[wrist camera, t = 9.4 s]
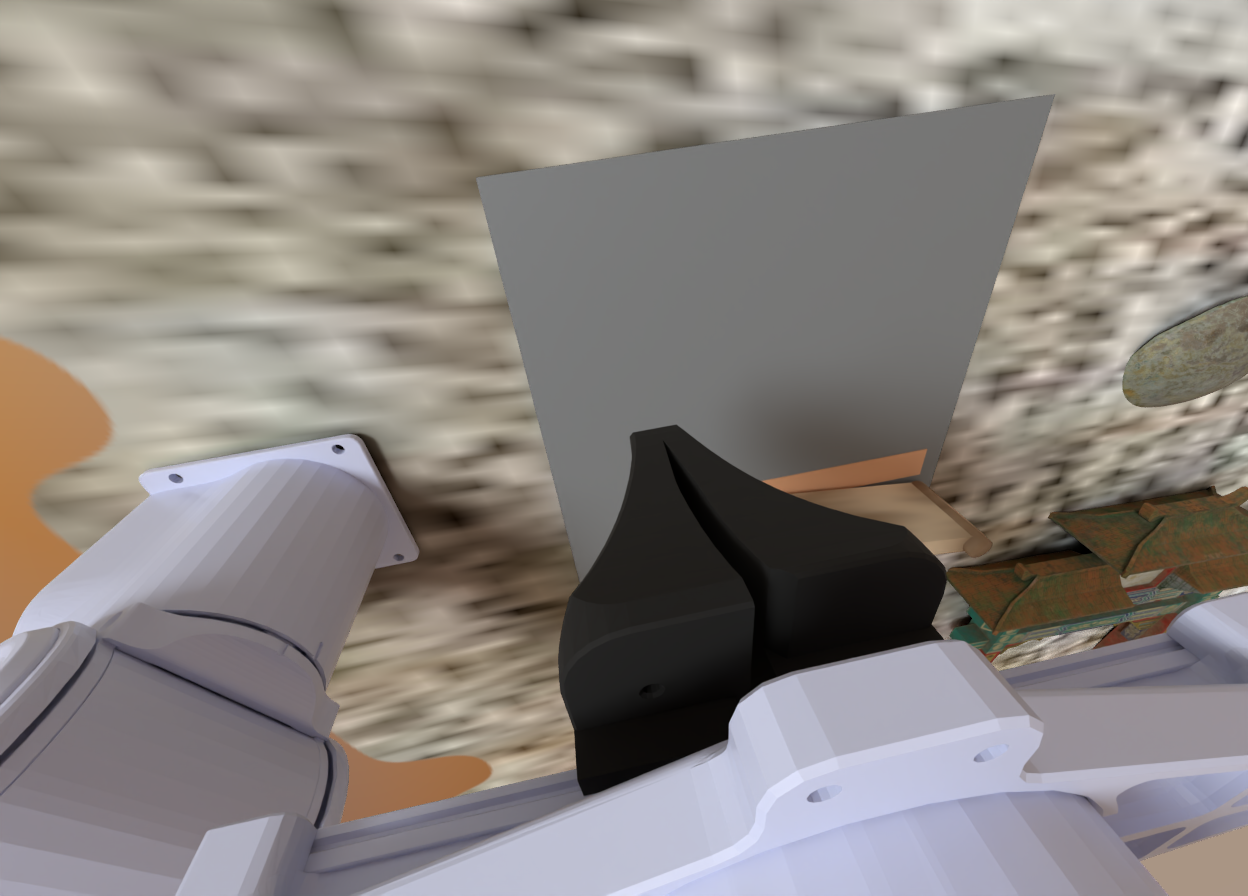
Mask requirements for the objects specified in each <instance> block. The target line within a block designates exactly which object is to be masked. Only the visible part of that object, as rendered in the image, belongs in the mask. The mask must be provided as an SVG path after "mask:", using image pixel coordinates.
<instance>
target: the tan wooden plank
mask: <svg viewBox="0 0 1248 896" xmlns="http://www.w3.org/2000/svg"><path fill="white" fill-rule="evenodd" d="M791 495H794V496H796V497H799V498H802V499H804V500H807V501H809V502H812V503H815V504H818V505H821V506H824V507H827V508H831V509H834V510H838V511H841V512H845V513H848V514H852V515H855V516H859V517H864V518H869V519H873V520H878V521H883V522H887V523H892V524H897V525H901V526H905V527H906V528H907V529H908V530H909V531H910V532H912V533H913V534H914V535H915V536H916V537H917V538H918V539H919V540H920V541H921V542H922V543H923V544H924V545H925V546H926V547H927V548H928V549H929V550H930V551H931V552H932V553H933V554H934V555H936V554H944V553H953V552H961V551H965V552H966V553H967V554H968V555H969V556H970V557H973V558H975V557H979V556H982V555H984V554H985V553H987V552H988V551H989V550H990V548H991V547H992V542H991V541H990V540H989V539H988V538H987V537H985V535H984V534H983V533H982V532H981V531H980V530H979V529H977V528H976V527H975V526H974V525H973V524H971V523H970V522H969V521H968V520H967V519H966V518H964V517H963V516H962V515H961V514H960V513H958V512H957V511H956V510H955V509H954V508H953V507H951V506H950V505H949V504H948V503H947V502H946V501H944V500H943V499H942V498H941V497H940V496H938V495H937V494H936V493H935V492H934V491H933V490H931V489H930V488H929V487H928V486H927V485H926V484H924V483H923V482H921V481H913V482H911V483H901V484H890V485H880V486H869V487H858V488H848V489H837V490H827V491H816V492H806V493H795V494H791Z"/></svg>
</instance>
